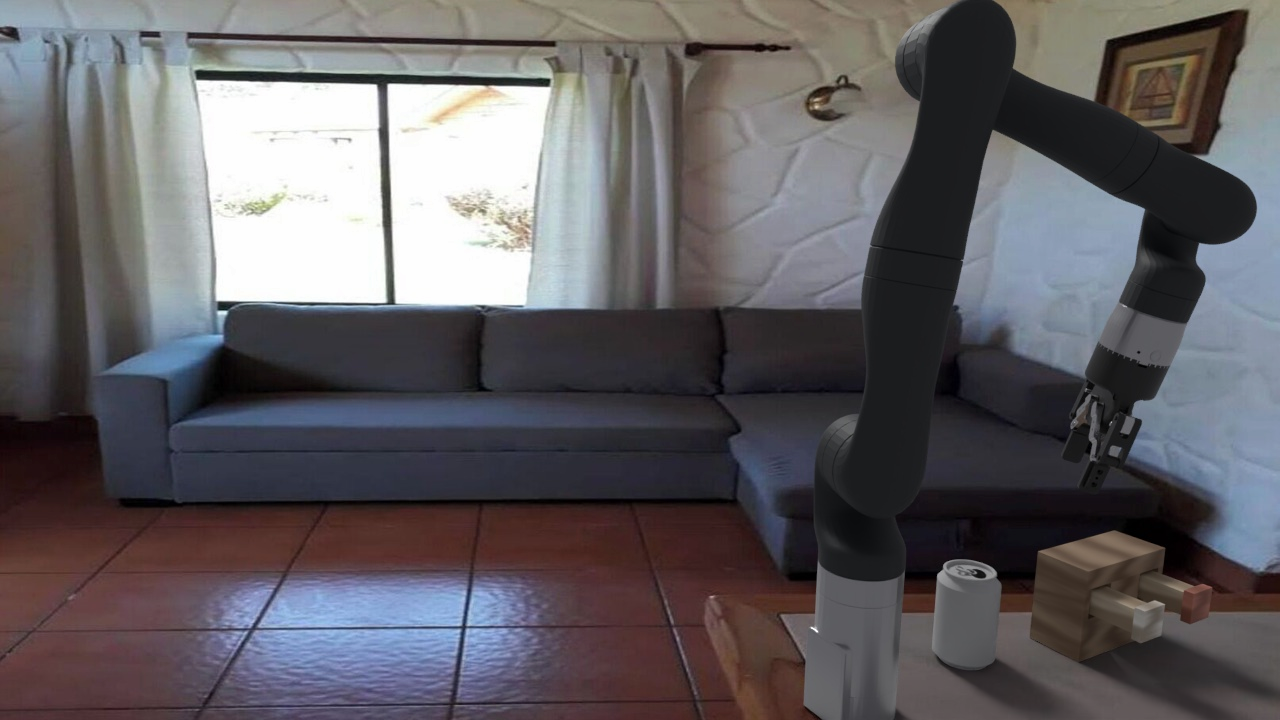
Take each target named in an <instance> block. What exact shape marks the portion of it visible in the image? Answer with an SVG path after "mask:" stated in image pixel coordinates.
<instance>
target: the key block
mask: <svg viewBox="0 0 1280 720" xmlns="http://www.w3.org/2000/svg"><path fill="white" fill-rule="evenodd" d="M1165 552H1166V547H1164V546H1160V545H1158V544H1155V543H1151V542H1149V541H1146V540H1143V539H1140V538H1138V537H1134V536H1132V535H1129V534H1127V533H1123V532H1120V531H1118V530H1111V531H1106V532H1104V533H1100V534H1096V535H1093V536H1088V537H1085V538H1082V539H1078V540H1075V541H1071V542H1067V543H1064V544H1060V545H1056V546H1052V547H1049V548H1045V549H1041V550H1038V551H1037V556H1036V557H1037V559H1036V568H1035V576H1034V577H1035V578H1034V588H1033V589H1034V590H1033V599H1032V609H1031V619H1030V629H1029V637H1030V639H1031V638H1032V639H1031V640H1033V639H1034V641H1035V640H1036V641H1035V642H1037V641H1038V643H1039V642H1040V643H1039V644H1041V643H1042V644H1041V645H1043V646H1045V645H1046V646H1045V647H1047V646H1048V647H1047V648H1049V647H1050V649H1051V648H1052V649H1051V650H1053V649H1054V650H1053V651H1054V652H1057V653H1059V654H1061V655H1063V656H1065V657H1067V658H1069V659H1071V660H1072V661H1075V662H1076V663H1080V662H1082V661H1084V660H1088V659H1091V658H1094V657H1097V656H1099V655H1101V654H1104V653H1106V652H1109V651H1112V650H1114V649H1118V648H1119V647H1122V646H1125V645H1128V644H1131V643H1132V642H1136V641H1135V640H1132V639H1131V635H1132V633H1131V632H1128V631H1126V630H1124V629H1122V628H1119V627H1117V626H1115V625H1113V624H1110V623H1108V622H1106V621H1104V620H1101V619H1099V618H1097V617H1095V616H1093V615H1090V614H1089V605H1090V596H1091V589H1093V588H1096V587H1100V586H1103V585H1104V586H1107V587H1109V588H1112V589H1114V590H1116V591H1119V592H1121V593H1124V594H1126V595H1129V596H1131V597H1133V598H1136V599H1138V600H1141V601H1143V602H1146V603H1149V602H1148V601H1145V600H1143V599H1140V598H1138V597H1137V596H1138V588H1139V579H1140V573H1143V572H1146V571H1149V570H1152V571H1155V572H1158V573H1160V574H1163V569H1164V564H1165V563H1164V562H1165V554H1166V553H1165Z"/></svg>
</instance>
